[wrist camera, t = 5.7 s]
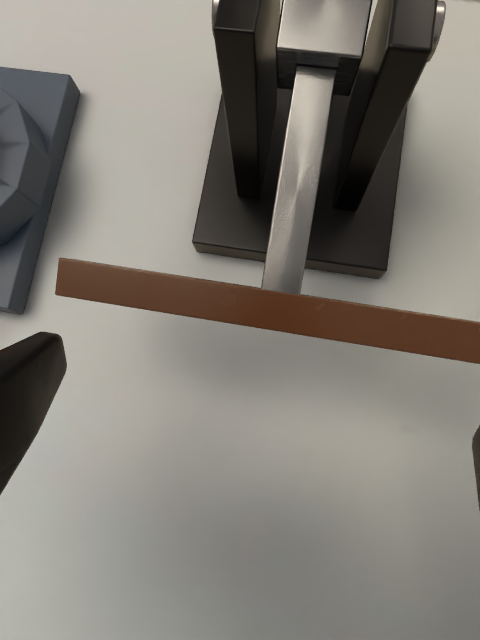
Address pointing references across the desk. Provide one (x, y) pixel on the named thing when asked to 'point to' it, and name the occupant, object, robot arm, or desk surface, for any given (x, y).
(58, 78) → the button box
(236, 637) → the desk surface
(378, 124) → the lever bracket
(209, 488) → the desk surface
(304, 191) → the lever
